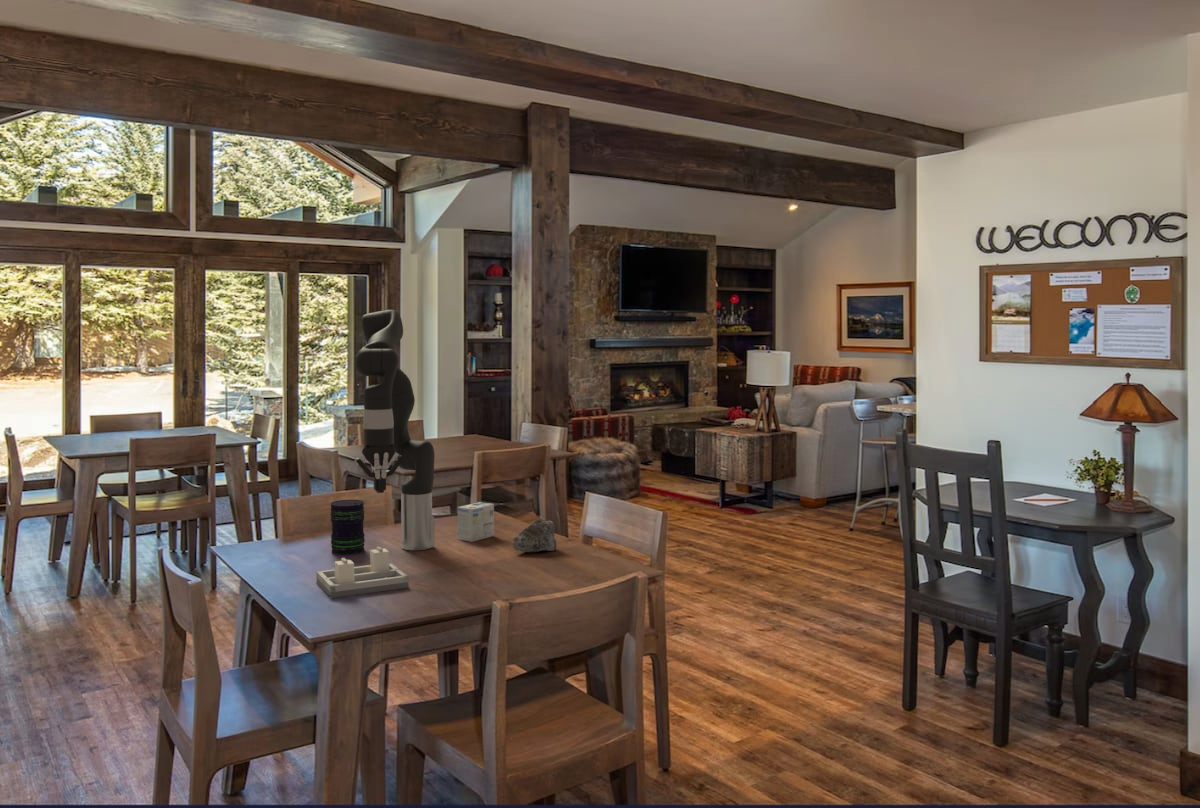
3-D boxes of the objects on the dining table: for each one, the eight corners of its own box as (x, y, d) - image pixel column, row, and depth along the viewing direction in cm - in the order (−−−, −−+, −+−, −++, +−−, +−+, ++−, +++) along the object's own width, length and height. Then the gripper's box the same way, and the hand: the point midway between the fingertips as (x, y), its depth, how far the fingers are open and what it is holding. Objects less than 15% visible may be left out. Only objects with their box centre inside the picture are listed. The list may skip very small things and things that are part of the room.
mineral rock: (512, 555, 277) (512, 522, 277) (515, 547, 288) (515, 515, 287) (555, 555, 278) (555, 522, 277) (556, 547, 288) (556, 515, 288)
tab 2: (384, 569, 253) (384, 545, 253) (389, 573, 250) (388, 548, 249) (370, 571, 251) (370, 547, 251) (374, 575, 248) (374, 550, 247)
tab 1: (350, 582, 241) (350, 556, 240) (354, 586, 237) (354, 560, 237) (335, 584, 239) (334, 558, 238) (338, 588, 235) (338, 561, 235)
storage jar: (324, 553, 278) (323, 504, 277) (344, 546, 287) (343, 498, 286) (351, 556, 274) (350, 506, 273) (371, 549, 283) (370, 501, 282)
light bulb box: (479, 533, 306) (479, 501, 305) (495, 536, 302) (494, 503, 301) (456, 539, 298) (456, 506, 297) (472, 542, 294) (471, 508, 293)
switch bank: (390, 573, 256) (390, 562, 256) (408, 587, 242) (408, 576, 242) (316, 582, 246) (316, 571, 246) (330, 598, 233) (330, 586, 232)
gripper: (399, 423, 246) (400, 488, 247) (349, 426, 239) (350, 492, 241) (408, 426, 239) (409, 492, 241) (356, 429, 233) (358, 497, 234)
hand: (379, 492), depth 241 cm, fingers closed
